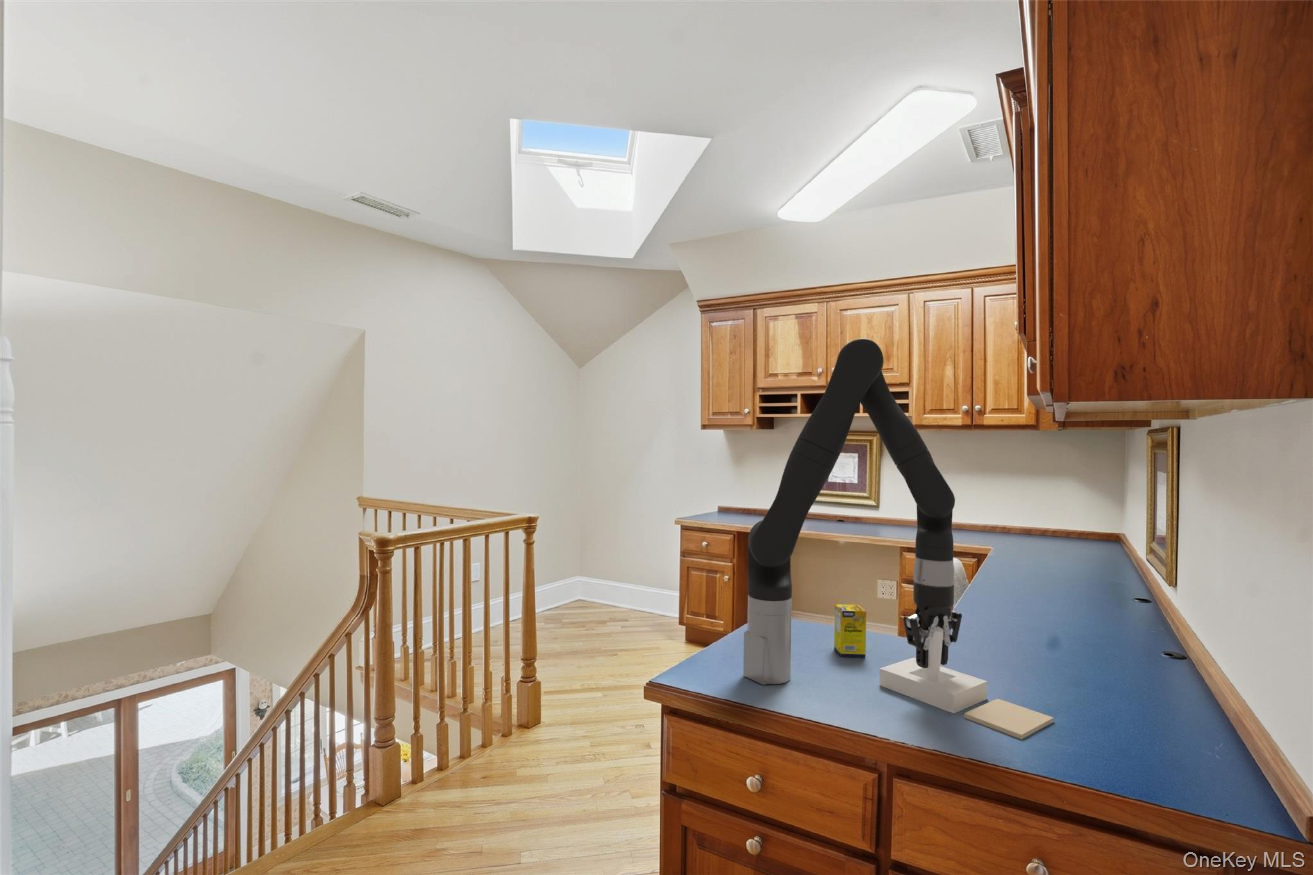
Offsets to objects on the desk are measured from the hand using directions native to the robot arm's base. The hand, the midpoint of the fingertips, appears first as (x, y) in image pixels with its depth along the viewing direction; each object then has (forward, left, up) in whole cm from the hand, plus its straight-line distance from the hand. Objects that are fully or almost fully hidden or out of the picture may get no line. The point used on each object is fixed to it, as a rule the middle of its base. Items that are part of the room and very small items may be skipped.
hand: (932, 664), depth 126 cm
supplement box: (+6, +24, -6) cm, 26 cm away
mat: (+1, -15, -6) cm, 16 cm away
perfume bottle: (0, 0, -5) cm, 5 cm away
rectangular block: (+1, 0, -6) cm, 6 cm away
